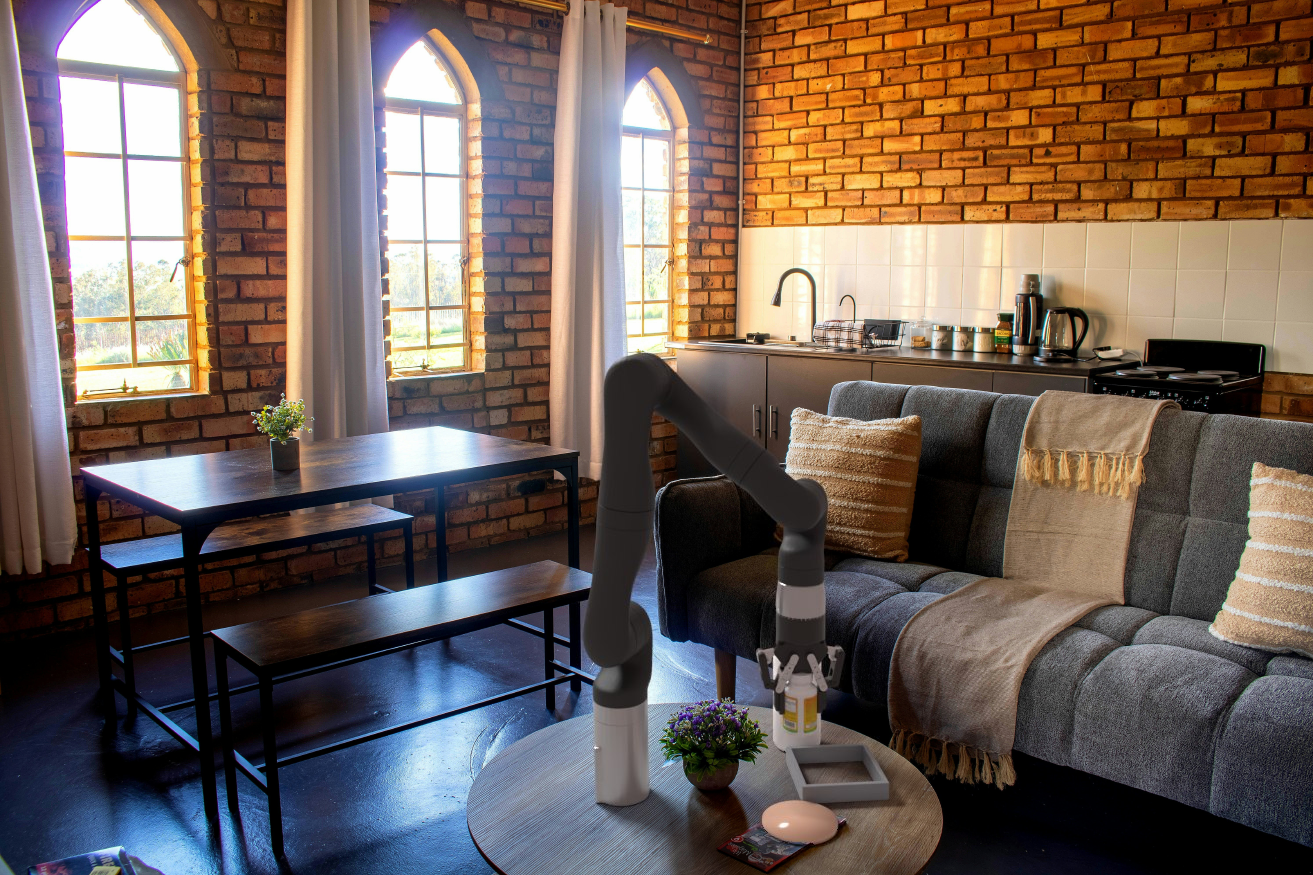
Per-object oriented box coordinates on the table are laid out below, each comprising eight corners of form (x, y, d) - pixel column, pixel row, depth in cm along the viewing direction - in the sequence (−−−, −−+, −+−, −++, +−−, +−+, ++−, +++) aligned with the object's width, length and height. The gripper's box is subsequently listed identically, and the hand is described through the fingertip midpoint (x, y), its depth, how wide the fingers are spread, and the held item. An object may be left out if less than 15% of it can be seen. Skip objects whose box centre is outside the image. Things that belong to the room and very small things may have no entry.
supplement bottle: (815, 722, 161) (816, 664, 160) (817, 737, 156) (818, 678, 154) (781, 721, 162) (782, 664, 160) (782, 736, 156) (783, 677, 155)
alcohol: (794, 759, 183) (795, 600, 178) (763, 741, 190) (763, 588, 185) (830, 746, 187) (832, 591, 183) (798, 729, 195) (799, 579, 190)
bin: (802, 803, 167) (802, 786, 167) (785, 762, 182) (785, 746, 181) (888, 799, 168) (889, 782, 168) (865, 758, 183) (865, 742, 182)
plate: (769, 846, 155) (769, 842, 155) (756, 806, 167) (756, 801, 167) (846, 843, 156) (846, 838, 156) (828, 803, 167) (828, 798, 167)
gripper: (758, 618, 151) (758, 724, 154) (852, 615, 152) (851, 720, 155) (750, 602, 159) (750, 703, 162) (840, 599, 160) (839, 700, 162)
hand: (799, 711), depth 158 cm, fingers closed on supplement bottle, 5 cm apart
